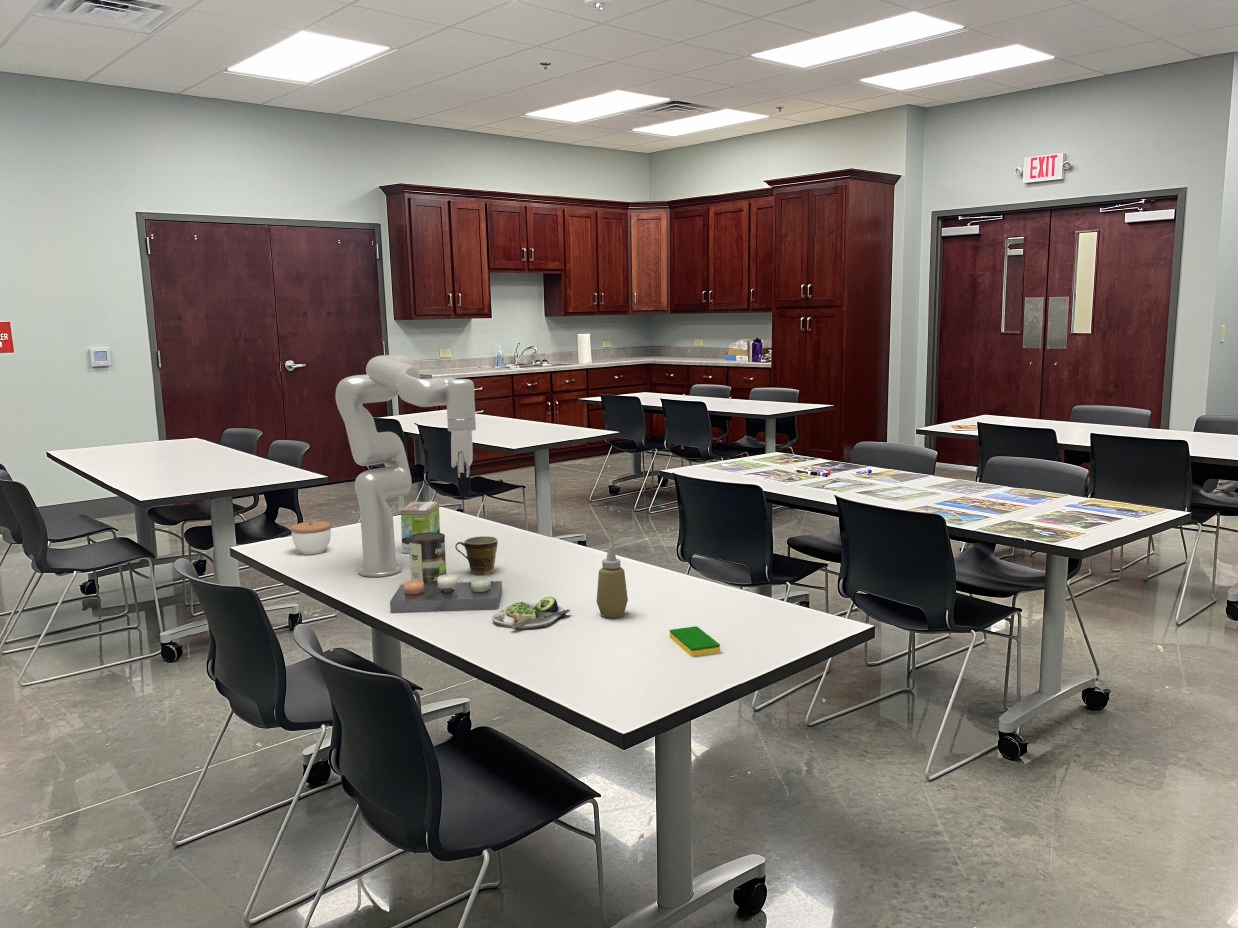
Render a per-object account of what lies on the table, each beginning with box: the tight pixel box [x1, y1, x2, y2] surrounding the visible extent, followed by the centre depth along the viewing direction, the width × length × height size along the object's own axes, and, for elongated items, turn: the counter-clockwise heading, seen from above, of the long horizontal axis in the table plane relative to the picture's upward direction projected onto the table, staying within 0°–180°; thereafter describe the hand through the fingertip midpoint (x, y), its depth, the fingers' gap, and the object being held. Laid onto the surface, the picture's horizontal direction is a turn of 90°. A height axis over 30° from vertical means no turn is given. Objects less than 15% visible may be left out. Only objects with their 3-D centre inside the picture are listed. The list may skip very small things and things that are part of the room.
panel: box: [389, 580, 503, 614], centre depth 252 cm, size 16×28×3 cm, turn 93°
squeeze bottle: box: [596, 545, 629, 619], centre depth 237 cm, size 8×8×18 cm
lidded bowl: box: [290, 519, 332, 556], centre depth 309 cm, size 13×13×11 cm
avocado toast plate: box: [491, 596, 571, 630], centre depth 235 cm, size 19×18×5 cm
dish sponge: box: [669, 625, 721, 658], centre depth 215 cm, size 7×14×2 cm, turn 18°
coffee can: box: [409, 532, 447, 584], centre depth 269 cm, size 10×10×14 cm
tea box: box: [400, 501, 441, 554], centre depth 311 cm, size 15×10×15 cm
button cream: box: [437, 574, 458, 593], centre depth 251 cm, size 5×5×5 cm
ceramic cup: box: [455, 535, 499, 576], centre depth 280 cm, size 13×10×10 cm
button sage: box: [470, 577, 491, 592], centre depth 252 cm, size 5×5×5 cm
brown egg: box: [403, 580, 424, 594], centre depth 251 cm, size 5×5×5 cm
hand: (464, 491), depth 254 cm, fingers closed
